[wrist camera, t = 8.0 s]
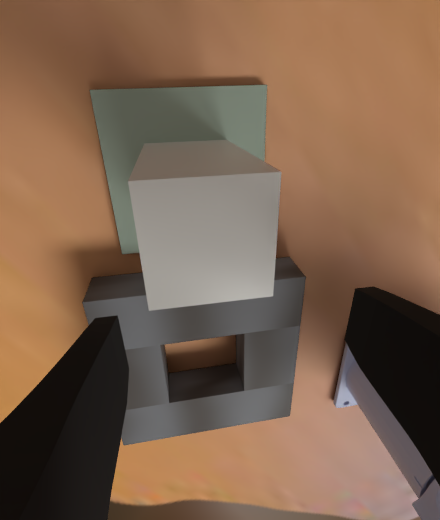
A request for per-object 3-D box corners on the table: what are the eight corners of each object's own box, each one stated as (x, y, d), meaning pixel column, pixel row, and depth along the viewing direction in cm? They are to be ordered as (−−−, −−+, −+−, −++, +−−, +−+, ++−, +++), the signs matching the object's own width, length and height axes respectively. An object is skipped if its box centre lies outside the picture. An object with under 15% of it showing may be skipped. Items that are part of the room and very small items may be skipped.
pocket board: (289, 256, 19) (305, 276, 17) (278, 388, 25) (289, 415, 23) (92, 277, 18) (82, 302, 16) (127, 413, 23) (123, 445, 21)
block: (226, 139, 15) (281, 171, 8) (227, 216, 17) (273, 296, 10) (144, 143, 15) (127, 181, 8) (154, 222, 17) (148, 311, 10)
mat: (264, 85, 15) (267, 84, 14) (259, 238, 18) (261, 240, 18) (91, 90, 14) (89, 89, 13) (123, 251, 17) (122, 254, 17)
